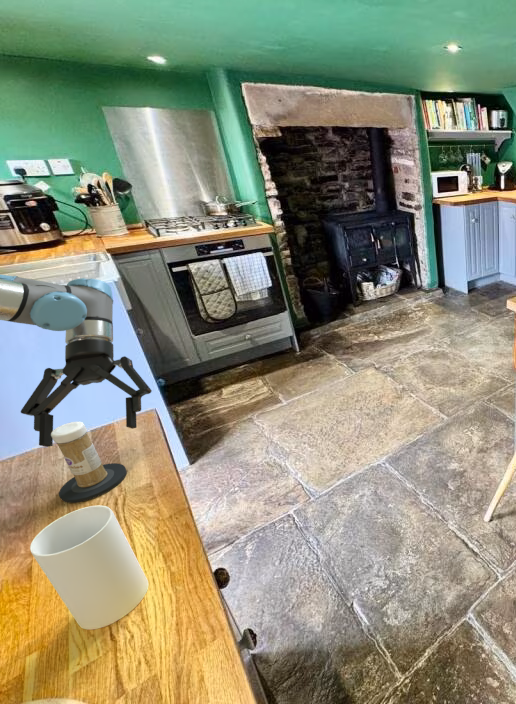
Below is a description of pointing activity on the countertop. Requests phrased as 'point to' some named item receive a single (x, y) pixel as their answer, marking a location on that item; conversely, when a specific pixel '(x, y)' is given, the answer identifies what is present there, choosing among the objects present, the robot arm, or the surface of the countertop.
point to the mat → (79, 494)
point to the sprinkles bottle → (79, 453)
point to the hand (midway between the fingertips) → (90, 436)
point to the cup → (91, 566)
